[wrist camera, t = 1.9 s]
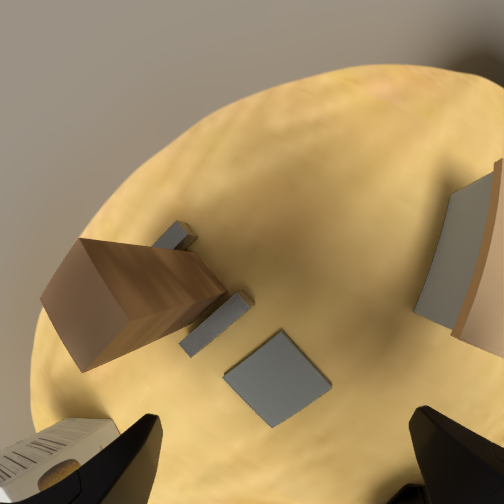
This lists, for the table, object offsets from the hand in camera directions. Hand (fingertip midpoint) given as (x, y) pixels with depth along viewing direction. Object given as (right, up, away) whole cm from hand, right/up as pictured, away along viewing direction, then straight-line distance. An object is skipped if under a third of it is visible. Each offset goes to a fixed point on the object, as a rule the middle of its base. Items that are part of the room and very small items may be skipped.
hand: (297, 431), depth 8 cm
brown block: (-6, +3, +14) cm, 16 cm away
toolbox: (+16, +4, +10) cm, 19 cm away
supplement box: (-19, -18, +16) cm, 30 cm away
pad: (+1, -4, +12) cm, 13 cm away
